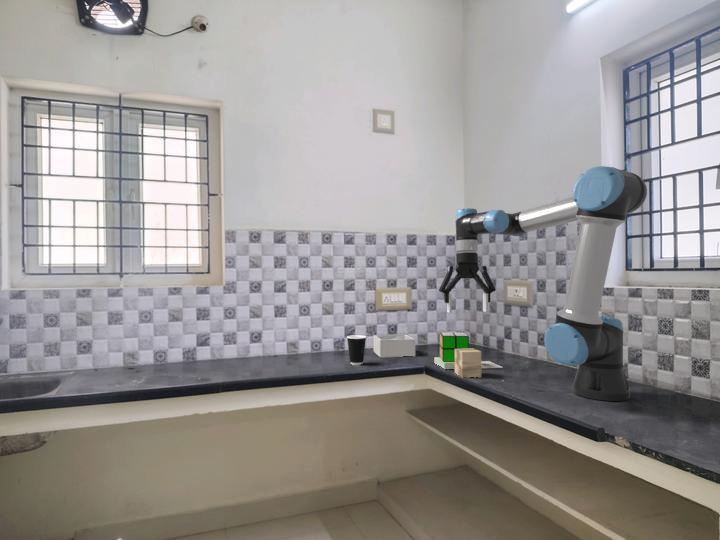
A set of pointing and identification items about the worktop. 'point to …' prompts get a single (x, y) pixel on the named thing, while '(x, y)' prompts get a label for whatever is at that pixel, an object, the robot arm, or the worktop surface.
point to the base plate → (444, 363)
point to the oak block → (468, 362)
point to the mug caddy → (394, 346)
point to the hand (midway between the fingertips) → (467, 312)
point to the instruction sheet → (489, 365)
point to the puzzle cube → (452, 345)
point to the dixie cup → (356, 349)
